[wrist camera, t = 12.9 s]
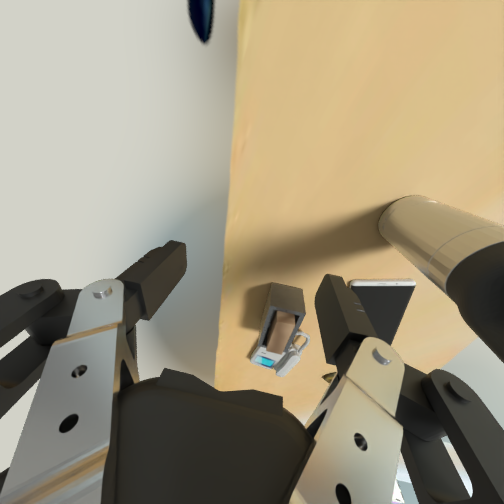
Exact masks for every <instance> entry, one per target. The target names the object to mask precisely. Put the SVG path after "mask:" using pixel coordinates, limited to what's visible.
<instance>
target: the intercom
mask: <svg viewBox="0 0 504 504" xmlns="http://www.w3.org/2000/svg"><path fill="white" fill-rule="evenodd" d="M296 335H302V336H304V337H306V341H305V343H304V344H303V345H302V346H299V345H297V344H292V343H291V346H290V348H289V350H288V352H287V353H285V352H283V353H282V355H280V354H276V353H272V352H268V351H266V348H264V347H259V346H257V347H256V349H255V350H254V352H253V353H252V355H251V358H250V362H251V363H252V364H255V365H258V366H261V367H263V368H266V369H272V368H273V367H274V369H275V370H276V375H277V376H279V377H284V376H285V375H286V374H287V373H288V372H289V371H290V370H291V369H292V368H293V367H294V366H295V365H296V364H297V363H298V362H299V361H300V356H301V354H302V350H303V349H304V348H305V347H306V346H307V345H308V344H309V342H310V336H309V335H308V334H306V333H304V332H302V331H297V333H296Z"/></svg>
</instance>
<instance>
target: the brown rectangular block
mask: <svg viewBox="0 0 504 504" xmlns="http://www.w3.org/2000/svg"><path fill="white" fill-rule="evenodd" d="M294 327H295V315H294V314H290V313H286V312H282V311H277V310H275V313H274V316H273V319H272V322H271V325H270V328H269V331H268V334H267V346H266V351H268V352H272V353H276V354H280V355H282V353H283V351H284V349H285V346H286V344H287V342H288V340H289V338H290V336H291V333H292V331H293V329H294Z"/></svg>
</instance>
